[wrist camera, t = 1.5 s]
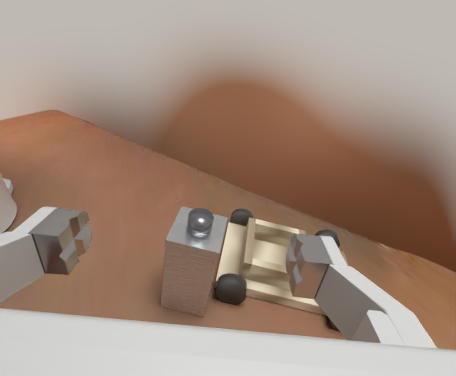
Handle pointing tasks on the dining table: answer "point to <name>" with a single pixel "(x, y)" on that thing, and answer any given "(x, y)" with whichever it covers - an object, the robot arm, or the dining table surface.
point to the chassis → (260, 263)
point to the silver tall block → (191, 260)
